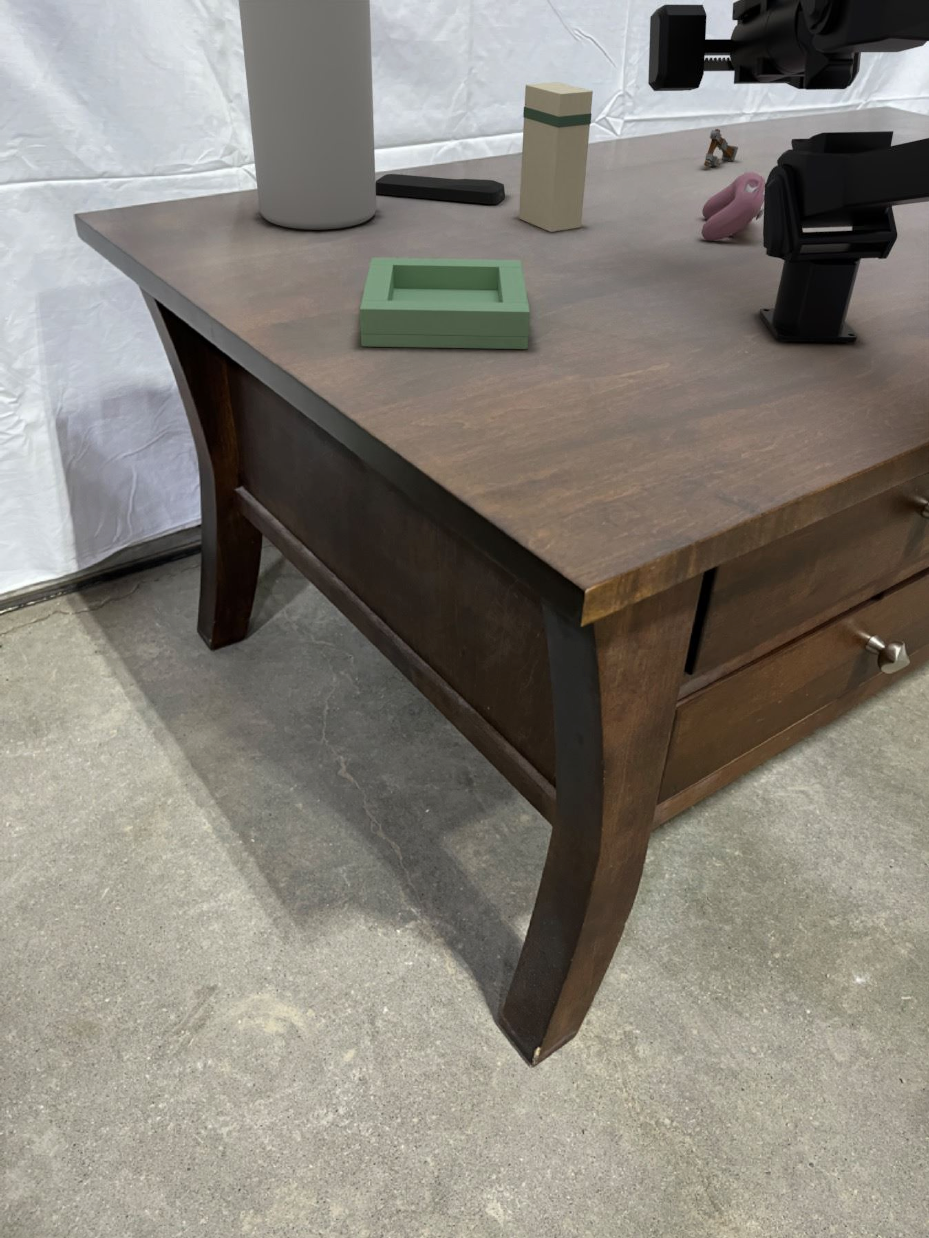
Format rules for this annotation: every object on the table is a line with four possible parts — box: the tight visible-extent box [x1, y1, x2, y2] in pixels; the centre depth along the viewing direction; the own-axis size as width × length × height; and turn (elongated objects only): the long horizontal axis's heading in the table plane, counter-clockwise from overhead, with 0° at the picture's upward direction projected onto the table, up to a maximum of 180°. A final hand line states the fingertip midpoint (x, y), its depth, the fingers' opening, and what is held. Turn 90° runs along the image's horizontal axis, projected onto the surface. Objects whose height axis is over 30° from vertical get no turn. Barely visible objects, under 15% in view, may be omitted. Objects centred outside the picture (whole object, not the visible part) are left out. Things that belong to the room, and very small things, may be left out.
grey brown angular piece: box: [703, 128, 739, 168], centre depth 130 cm, size 2×8×4 cm, turn 145°
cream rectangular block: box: [518, 81, 594, 233], centre depth 103 cm, size 6×4×13 cm
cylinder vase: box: [238, 0, 377, 231], centre depth 99 cm, size 12×12×25 cm
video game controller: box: [701, 170, 766, 242], centre depth 104 cm, size 10×5×7 cm, turn 169°
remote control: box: [375, 173, 506, 205], centre depth 115 cm, size 5×2×15 cm
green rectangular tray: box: [359, 256, 531, 350], centre depth 81 cm, size 13×13×3 cm
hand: (714, 64), depth 93 cm, fingers open, 9 cm apart
